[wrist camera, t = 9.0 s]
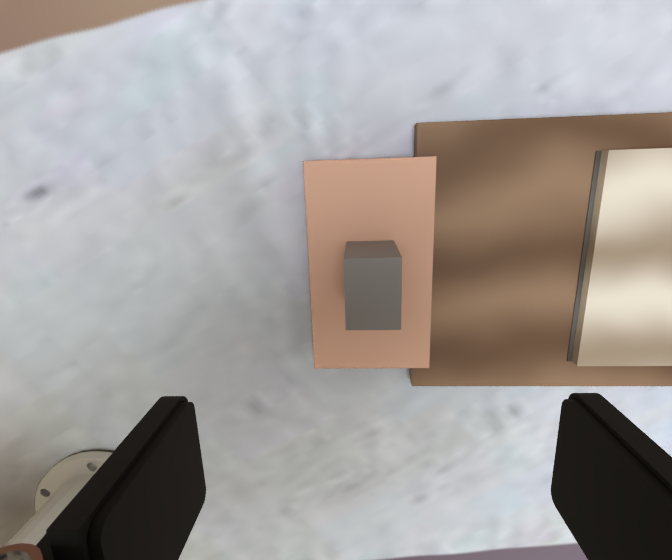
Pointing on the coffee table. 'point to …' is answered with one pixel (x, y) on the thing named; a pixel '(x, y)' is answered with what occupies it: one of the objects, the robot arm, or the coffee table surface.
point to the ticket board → (551, 251)
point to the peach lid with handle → (371, 260)
